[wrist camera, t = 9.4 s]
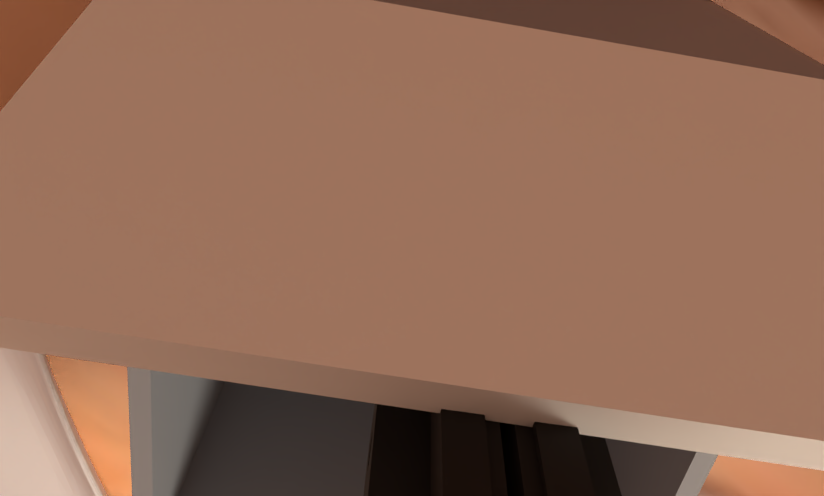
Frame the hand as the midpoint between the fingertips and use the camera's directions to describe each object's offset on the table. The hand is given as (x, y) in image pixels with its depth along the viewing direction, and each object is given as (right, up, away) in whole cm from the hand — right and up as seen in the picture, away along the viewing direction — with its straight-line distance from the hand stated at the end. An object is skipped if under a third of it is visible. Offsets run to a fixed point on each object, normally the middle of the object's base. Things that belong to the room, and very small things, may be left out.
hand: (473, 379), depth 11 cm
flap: (+1, +3, 0) cm, 3 cm away
